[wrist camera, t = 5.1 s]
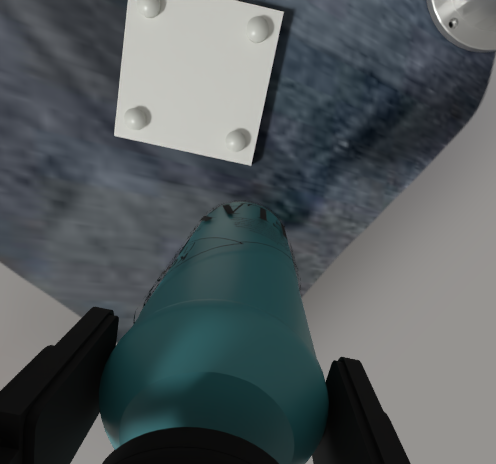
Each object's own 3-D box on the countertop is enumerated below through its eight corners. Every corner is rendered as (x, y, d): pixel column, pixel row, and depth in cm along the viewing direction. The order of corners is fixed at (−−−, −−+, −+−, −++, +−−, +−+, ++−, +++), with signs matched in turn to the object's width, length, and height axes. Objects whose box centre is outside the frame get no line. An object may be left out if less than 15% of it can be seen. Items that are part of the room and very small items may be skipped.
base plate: (282, 16, 31) (284, 9, 29) (251, 164, 35) (251, 165, 33) (135, -19, 31) (128, -28, 29) (118, 135, 34) (111, 135, 32)
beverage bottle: (299, 208, 23) (512, 567, 4) (271, 292, 25) (318, 828, 6) (208, 182, 23) (-73, 428, 3) (187, 269, 24) (-77, 750, 5)
